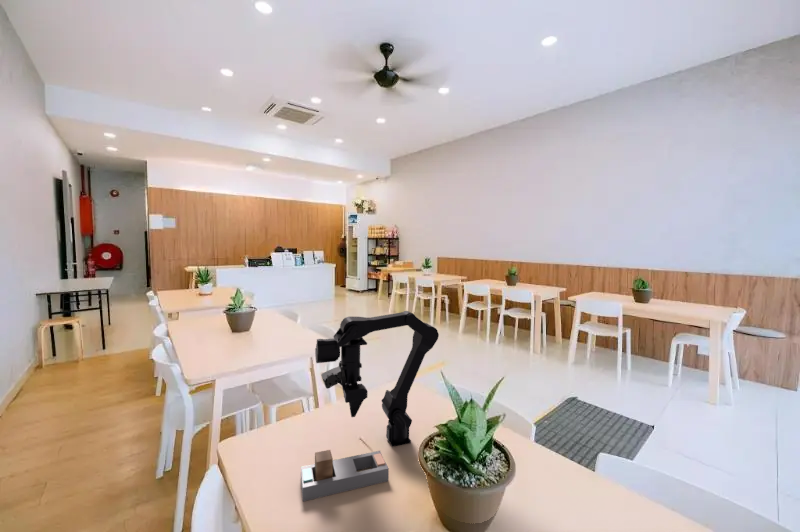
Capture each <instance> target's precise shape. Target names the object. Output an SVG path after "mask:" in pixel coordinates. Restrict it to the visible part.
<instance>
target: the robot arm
mask: <svg viewBox="0 0 800 532" xmlns="http://www.w3.org/2000/svg"><path fill="white" fill-rule="evenodd" d="M405 326H408V327H409V328H410V329H412V330H413V334H412V346H411V350H410V351H409V353H408V356H407V358H406V361H405V363H404V365H403V367H402V370H401V372H400V375H399V377H398V380H397V382H396V384H395V385H394V387H393V388H392V389H391V390H389V389H386V390H385V393H384V396H383V398H382V399H381V408H382V411H383V413H384V414H385V416H386V418H387V419H388V420H387V425H386V439H387V441H388V442H389V444H390V446H391V447H398V446H399V447H400V446H404V445H408V444H411V443H412V440H411V439H410V427H411V425H412V423H413V419H412V418H411V417H410V415H409V414H408V413H407V410H408V409H407V408H408V399H409V398H408V396H409V393H410V391H411V388H412V387H413V383H414V381H415V380H416V379H415V378H416V377H417V375H418V372H419V370H420V367H421V366H422V363H423V361H424V358H425V356H426V355H427V353H429V351H430V350H432V349H433V348H434V346H435V344H436V343H437V341H438V340H439V335H440V334H439V331H438V329H437V328H435V327H434V325H431V324H429V323H427V322H423V321H422V320H421V319H420V318H418V317H417V316H416V314H414V313H413V312H412V311H408V310H405V311H401V312H397V313H391V314H384V315H378V316H372V317H371V316H370V317H364V316H346V317H344V318H343V319H342V321H341V322H340V324H339V328H338V330H337V331H336V332H335V334H334V335H333V338H317V339H316V344H315V349H314V351H315V353H314V354H315V356H314V357H315V363H316V364H323V363H333V362H337V361H338V360H339V358H340V360H339V362H338V366H337V367H333V368H331V369H328V370H326V371H325V372H322V374H321V378H322V381H323V384H324V387H325V389H330V388H332V387H334V386H336V385H338V384H339V385H340V386H341V387H342V388H341V389H342V393H343V397H344V402H345V403H346V404H347V403H348V405H349V411H350V416H351V418H355V417H356V416H357V414H358V412H359V410H360V408H361V406H362V404H363V402H364V400H366V399H367V398H368V389H367V388H366V386H365V385H364V384H363V383H358V382H362V376H361V369H362V368H363V364H362V363H361V346H367V345H368V342H367V341H366V340H365V339H364V338H363V337H365V336H367V335H369V334H371V333H373V332H378V331H383V330H384V331H385V330H388V329H394V328H400V327H405Z"/></svg>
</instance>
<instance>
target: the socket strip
mask: <svg viewBox="0 0 800 532" xmlns="http://www.w3.org/2000/svg"><path fill="white" fill-rule="evenodd" d="M368 468H369V469H368ZM364 469H365V470H364ZM389 469H390V468H389V466H388V463H387V462H386V460H385V458H384V456H383V453H382V452H381V450H377V451H372V452H365V453H361V454H358V455H357V454H356V455H352V456H347V457H342V458H341V457H340V458H338V459H333V478H328V479H324V480H319V481H315V463H312V464H308V465H307V464H306V465H303V466H300V486H301V496H302V502H306V501H310V500H314V499H320V498H323V497H326V496H327V497H328V496H332V495H336V494H340V493H344V492H348V491H352V490H355V489H360V488H364V487H369V486H373V485H378V484H382V483H385V482H386V483H387V482H389V472H390V471H389ZM359 470H361V471H359Z"/></svg>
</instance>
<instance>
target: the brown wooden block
mask: <svg viewBox="0 0 800 532" xmlns="http://www.w3.org/2000/svg"><path fill="white" fill-rule="evenodd" d="M333 460H334V459H333V455H332V450H331V449H326V450H321V451H317V452H314V464H315V480H314V482H315V481H319V480H324V479H328V478H333Z"/></svg>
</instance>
